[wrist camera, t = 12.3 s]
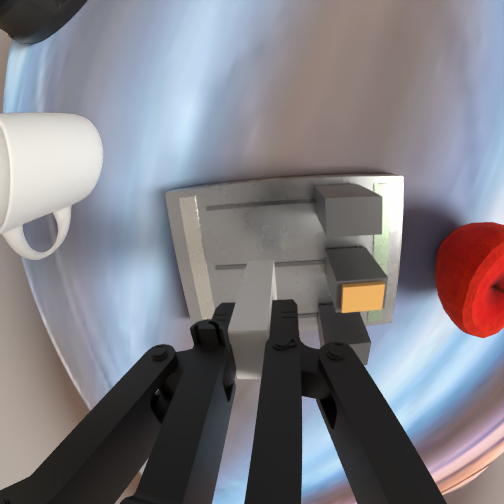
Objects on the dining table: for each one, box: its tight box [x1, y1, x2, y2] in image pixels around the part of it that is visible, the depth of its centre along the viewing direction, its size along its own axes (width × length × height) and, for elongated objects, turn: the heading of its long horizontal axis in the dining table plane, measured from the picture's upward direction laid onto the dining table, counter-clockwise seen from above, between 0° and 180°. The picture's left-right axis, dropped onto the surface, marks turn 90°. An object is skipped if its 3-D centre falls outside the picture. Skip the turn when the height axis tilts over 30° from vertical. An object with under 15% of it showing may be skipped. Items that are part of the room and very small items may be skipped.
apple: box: [435, 222, 504, 338], centre depth 17 cm, size 9×9×8 cm
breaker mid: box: [325, 247, 388, 313], centre depth 17 cm, size 2×3×5 cm, turn 96°
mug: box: [0, 113, 103, 260], centre depth 17 cm, size 9×12×11 cm
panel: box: [165, 174, 403, 331], centre depth 21 cm, size 12×17×2 cm
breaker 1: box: [315, 184, 383, 237], centre depth 16 cm, size 2×3×5 cm, turn 95°
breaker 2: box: [318, 304, 371, 365], centre depth 19 cm, size 2×3×5 cm, turn 96°
